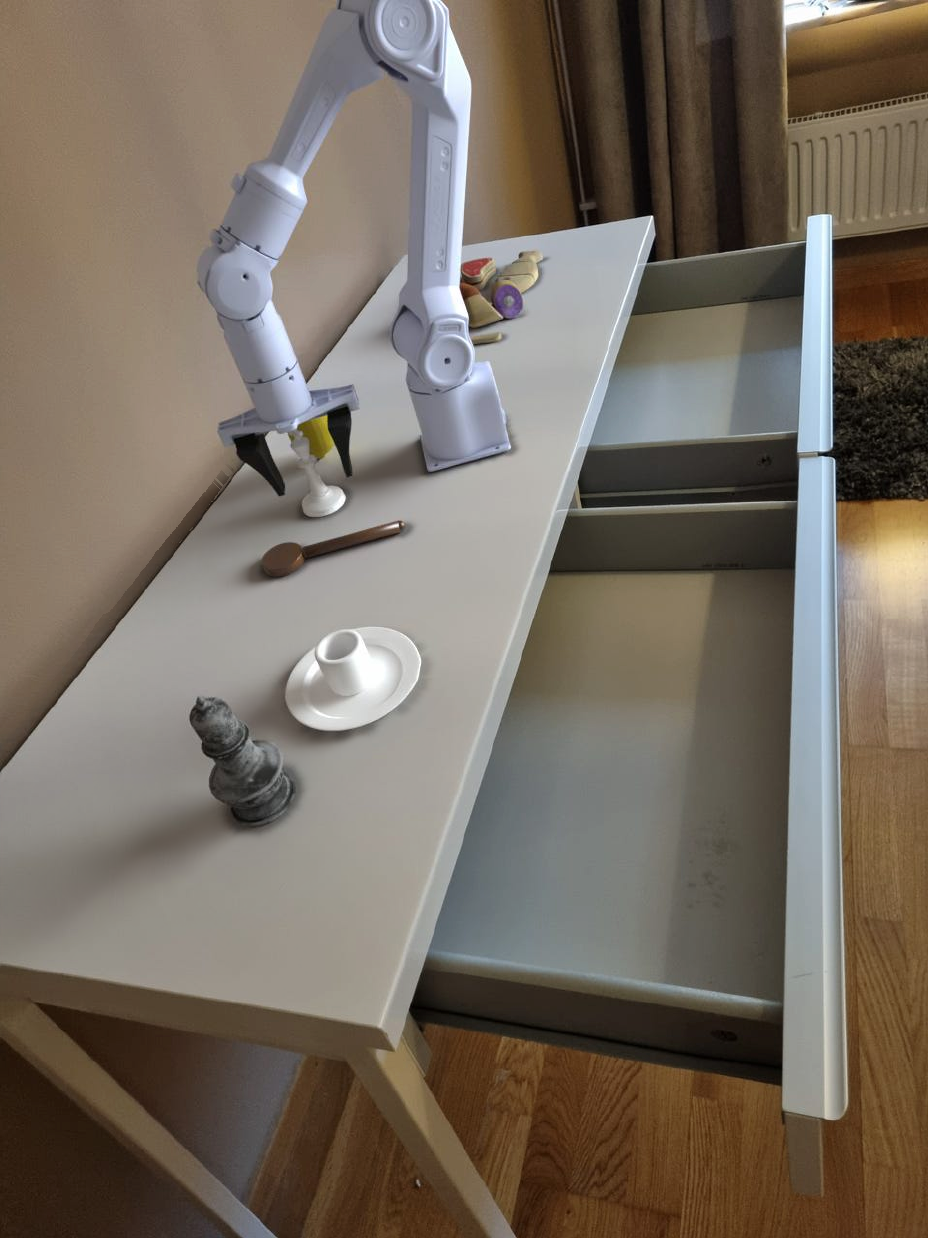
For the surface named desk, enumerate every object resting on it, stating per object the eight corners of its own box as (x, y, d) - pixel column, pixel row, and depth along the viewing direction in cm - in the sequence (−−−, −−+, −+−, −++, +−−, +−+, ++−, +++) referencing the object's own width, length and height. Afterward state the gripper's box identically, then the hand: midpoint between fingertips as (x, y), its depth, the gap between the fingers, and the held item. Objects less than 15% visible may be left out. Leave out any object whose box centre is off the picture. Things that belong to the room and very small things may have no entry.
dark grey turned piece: (231, 775, 72) (165, 676, 64) (300, 760, 71) (242, 658, 63) (223, 837, 67) (150, 738, 59) (296, 821, 67) (233, 719, 59)
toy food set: (517, 339, 117) (511, 310, 114) (401, 352, 122) (393, 325, 119) (544, 257, 134) (540, 230, 132) (443, 272, 139) (436, 247, 136)
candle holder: (450, 667, 75) (438, 631, 72) (344, 760, 70) (326, 725, 67) (363, 615, 83) (349, 580, 80) (262, 696, 78) (243, 662, 75)
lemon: (337, 469, 103) (314, 409, 98) (294, 472, 105) (269, 413, 99) (350, 442, 107) (328, 383, 102) (308, 446, 108) (285, 388, 103)
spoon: (404, 517, 93) (401, 508, 92) (408, 541, 89) (405, 532, 89) (265, 555, 93) (261, 547, 93) (264, 581, 90) (259, 572, 89)
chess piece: (327, 520, 96) (295, 441, 89) (294, 513, 98) (260, 436, 92) (354, 493, 98) (324, 415, 92) (321, 487, 101) (290, 410, 94)
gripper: (196, 407, 85) (250, 520, 94) (341, 365, 84) (382, 483, 93) (201, 375, 90) (253, 484, 99) (338, 335, 89) (377, 449, 98)
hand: (315, 481), depth 96 cm, fingers open, 7 cm apart
